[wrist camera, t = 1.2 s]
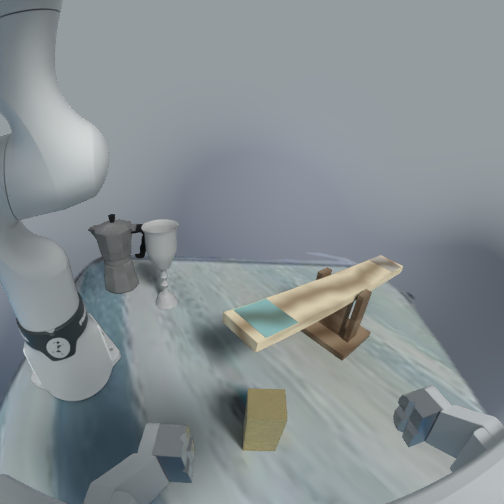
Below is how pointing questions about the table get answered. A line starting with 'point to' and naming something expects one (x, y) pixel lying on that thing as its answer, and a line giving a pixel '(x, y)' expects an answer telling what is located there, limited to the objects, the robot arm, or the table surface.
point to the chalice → (162, 254)
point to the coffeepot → (118, 253)
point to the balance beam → (306, 303)
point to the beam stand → (341, 325)
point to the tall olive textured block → (264, 419)
